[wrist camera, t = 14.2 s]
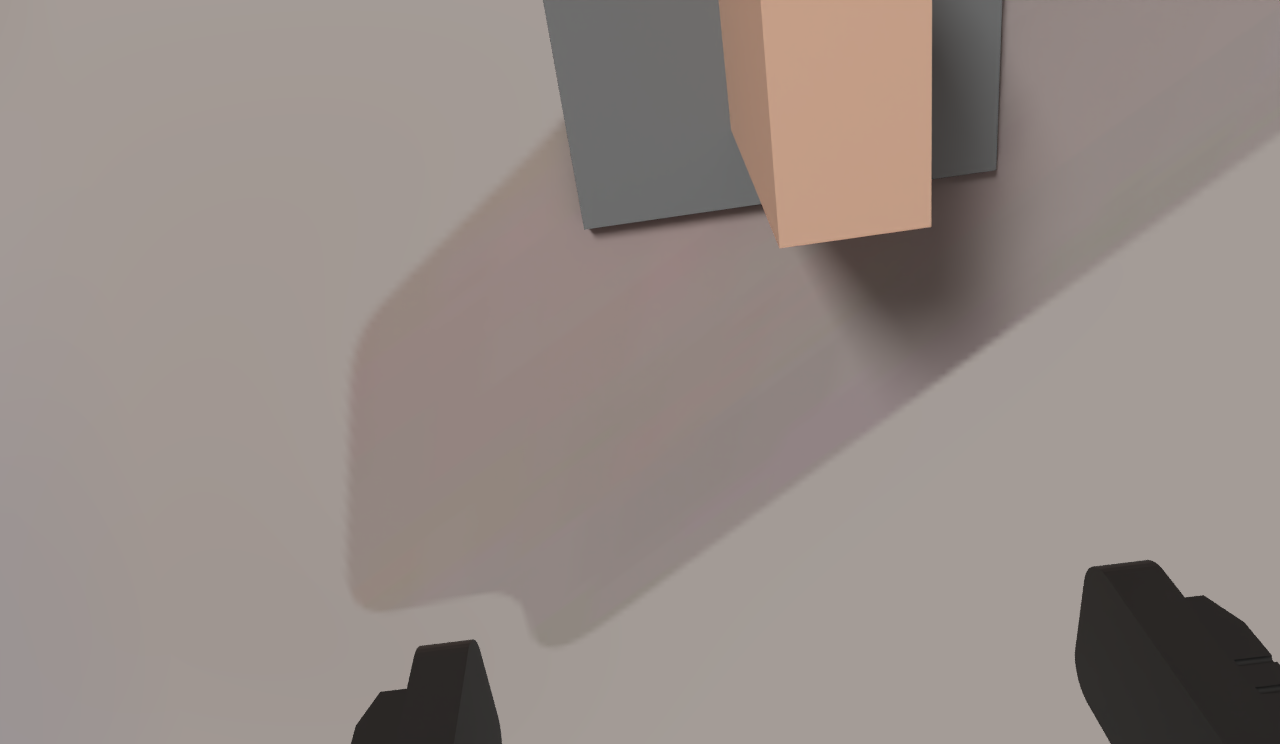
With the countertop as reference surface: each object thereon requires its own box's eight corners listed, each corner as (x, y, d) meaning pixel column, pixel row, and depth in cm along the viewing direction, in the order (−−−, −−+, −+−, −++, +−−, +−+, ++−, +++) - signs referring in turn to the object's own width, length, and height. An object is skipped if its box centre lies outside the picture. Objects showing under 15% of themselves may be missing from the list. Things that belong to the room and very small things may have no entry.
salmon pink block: (825, -195, 31) (933, -213, 21) (837, 113, 36) (931, 227, 26) (701, -176, 31) (746, -183, 21) (731, 130, 36) (779, 248, 26)
